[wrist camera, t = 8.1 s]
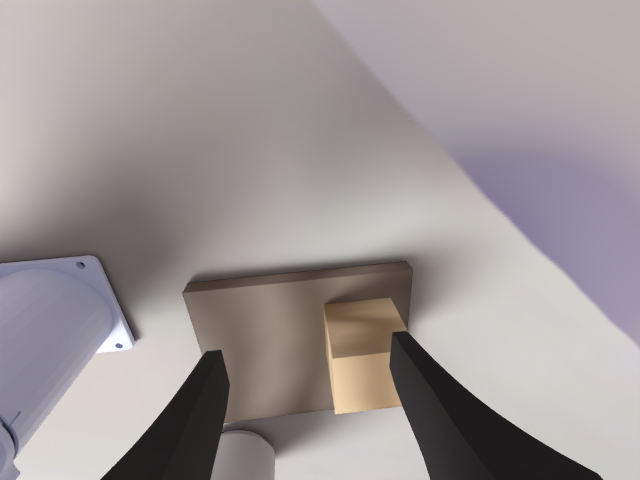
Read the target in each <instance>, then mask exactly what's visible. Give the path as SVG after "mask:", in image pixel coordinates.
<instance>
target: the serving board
mask: <svg viewBox="0 0 640 480" xmlns="http://www.w3.org/2000/svg"><path fill="white" fill-rule="evenodd" d="M412 273H413V269H412V268H411V267H410V265H409V264H408V262H407V261H405V262H395V263H385V264H375V265H365V266H355V267H345V268H335V269H325V270H315V271H305V272H295V273H285V274H275V275H265V276H255V277H244V278H234V279H224V280H214V281H204V282H194V283H188V284H187V286H186V287H185V289H184V291H183V293H182V294H183V297H184V300H185V303H186V306H187V309H188V312H189V315H190V319H191V322H192V325H193V328H194V331H195V334H196V337H197V341H198V344H199V347H200V350H201V353H202V356H203V354H204V353H205V352H206V351H213V350H222V354H223V358H224V362H225V366H226V370H227V374H228V378H229V382H230V388H229V397H228V404H227V411H226V416H225V420H224V423H228V422H235V421H243V420H251V419H259V418H267V417H275V416H282V415H290V414H298V413H306V412H314V411H321V410H329V409H334V402H333V395H332V388H331V381H330V375H329V368H328V361H327V353H326V337H325V321H324V304H334V303H343V302H353V301H362V300H372V299H381V298H391V299H392V301H393V303H394V305H395V307H396V309H397V311H398V313H399V315H400V317H401V319H402V321H403V323H404V325H405V327H406V329H407V327H408V316H409V305H410V294H411V284H412Z"/></svg>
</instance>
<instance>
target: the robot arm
mask: <svg viewBox="0 0 640 480" xmlns="http://www.w3.org/2000/svg"><path fill="white" fill-rule="evenodd" d="M80 262H82V263H84V265H85V266H83V265H81V263H80ZM119 343H120V344H119ZM134 344H135V340H134V338H133V336H132V333H131V331H130V329H129V326H128V324H127V322H126V320H125V317H124V315H123V313H122V311H121V308H120V306H119V304H118V302H117V299H116V297H115V295H114V293H113V290H112V288H111V286H110V284H109V281H108V279H107V277H106V274H105V272H104V270H103V268H102V265H101V263H100V261H99V260H98V258H96V257H94V256H90V255H87V256H77V257H66V258H55V259H44V260H33V261H22V262H12V263H1V264H0V480H16V479H17V477H18V476H19V475H20V471H19V470H18V469H17V468H16V467H15V465H14V463H13V460H14V459H15V458H16V456H17V455H18V454H19V452H20V451H21V450H22V449H23V447H24V446H25V445H26V443H27V442H28V441H29V439H30V438H31V437H32V435H33V434H34V433H35V432H36V430H37V429H38V428H39V426H40V425H41V424H42V422H43V421H44V420H45V418H46V417H47V416H48V415H49V413H50V412H51V411H52V409H53V408H54V407H55V405H56V404H57V403H58V402H59V400H60V399H61V398H62V396H63V395H64V394H65V392H66V391H67V390H68V388H69V387H70V386H71V385H72V383H73V382H74V381H75V379H76V378H77V377H78V375H79V374H80V373H81V371H82V370H83V369H84V368H85V366H86V365H87V364H88V362H89V361H90V360H91V358H92V357H93V356H94V354H95V353H101V352H110V351H119V350H128V349H131V348H133V346H134ZM389 368H390V371H391V375H392V378H393V382H394V385H395V388H396V391H397V394H398V396H399V399H400V401H401V404H402V406H403V409H404V411H405V413H406V416H407V418H408V421H409V423H410V425H411V428H412V430H413V432H414V435H415V437H416V440H417V442H418V444H419V447H420V450H421V452H422V455H423V458H424V461H425V464H426V467H427V470H428V473H429V476H430V479H431V480H603V479H602V478H601V477H600V476H599V474H597V473H595V472H594V471H592V470H590V469H588V468H586V467H584V466H583V465H581V464H579V463H577V462H575V461H573V460H571V459H570V458H568V457H566V456H564V455H562V454H560V453H559V452H557V451H555V450H554V449H552V448H550V447H549V446H547V445H545V444H544V443H542V442H540V441H539V440H537V439H535V438H534V437H532V436H531V435H529V434H527V433H526V432H524V431H523V430H521V429H520V428H518V427H517V426H515V425H514V424H512V423H511V422H509V421H508V420H506V419H505V418H503V417H502V416H501V415H499V414H498V413H496V412H495V411H494V410H492V409H491V408H490V407H488V406H487V405H486V404H484V403H483V402H482V401H480V400H479V399H478V398H477V397H475V396H474V395H473V394H472V393H470V392H469V391H468V390H467V389H466V388H465V387H463V386H462V385H461V384H460V383H459V382H458V381H457V380H455V379H454V378H453V377H452V376H451V375H450V374H449V373H448V372H447V371H446V370H445V369H444V368H442V367H441V366H440V365H439V364H438V363H437V362H436V361H435V360H434V359H433V358H432V357H431V356H430V355H429V354H428V353H427V352H426V351H425V350H424V349H423V348H422V347H421V346H420V345H419V344H418V342H417V341H416V340H415V339H414V338H413V337H412V336H411V335H410V334H409V333H408V332H407V331H399V332H392V340H391V351H390V363H389ZM229 388H230V382H229V378H228V374H227V370H226V366H225V362H224V358H223V354H222V350H213V351H206V352H205V353H204V354H203V356H202V357H201V359H200V360H199V362H198V363H197V365H196V366H195V368H194V369H193V371H192V372H191V374H190V375H189V376H188V378H187V379H186V381H185V382H184V384H183V385H182V386H181V388H180V389H179V390H178V392H177V393H176V394H175V396H174V397H173V399H172V400H171V401H170V402H169V404H168V405H167V406H166V408H165V409H164V410H163V411H162V413H161V414H160V415H159V416H158V417H157V419H156V420H155V421H154V422H153V424H152V425H151V426H150V427H149V428H148V430H147V431H146V432H145V433H144V434H143V435H142V436H141V438H140V439H139V440H138V441H137V442H136V443H135V444H134V445H133V446H132V448H131V449H130V450H129V451H128V452H127V453H126V454H125V455H124V456H123V457H122V458H121V459H120V460H119V461H118V462H117V463H116V464H115V465H114V466H113V467H112V468H111V469H110V470H109V471H108V472H107V473H106V474H105V475H104V476H103V477H102V478H101V479H100V480H211V475H212V470H213V466H214V462H215V458H216V454H217V449H218V445H219V441H220V437H221V433H222V429H223V424H224V420H225V416H226V411H227V404H228V397H229Z"/></svg>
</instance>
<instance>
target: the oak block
mask: <svg viewBox="0 0 640 480" xmlns="http://www.w3.org/2000/svg"><path fill="white" fill-rule="evenodd" d="M324 321H325V337H326V353H327V361H328V368H329V375H330V381H331V388H332V395H333V402H334V409H335V414H343V413H351V412H359V411H367V410H374V409H382V408H390V407H398V406H402V404H401V401H400V399H399V396H398V394H397V391H396V388H395V385H394V382H393V378H392V375H391V371H390V368H389V363H390V351H391V340H392V332H399V331H407V332H408V330H407V329H406V327H405V325H404V323H403V321H402V319H401V317H400V315H399V313H398V311H397V309H396V307H395V305H394V303H393V301H392V299H391V298H381V299H372V300H362V301H353V302H343V303H334V304H324ZM408 333H409V332H408Z"/></svg>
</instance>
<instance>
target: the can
mask: <svg viewBox="0 0 640 480" xmlns="http://www.w3.org/2000/svg"><path fill="white" fill-rule="evenodd" d="M274 474H275V453H274V449H273V448H272V447H271V445H270V444H269V443H268V442H267V441H265V439H264V438H263V437H262V436H260V435H258V434H257V433H254V432H250V431H246V430H233V431H227V432H224V433H221V437H220V441H219V445H218V449H217V454H216V458H215V462H214V466H213V470H212V475H211V480H274Z"/></svg>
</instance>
